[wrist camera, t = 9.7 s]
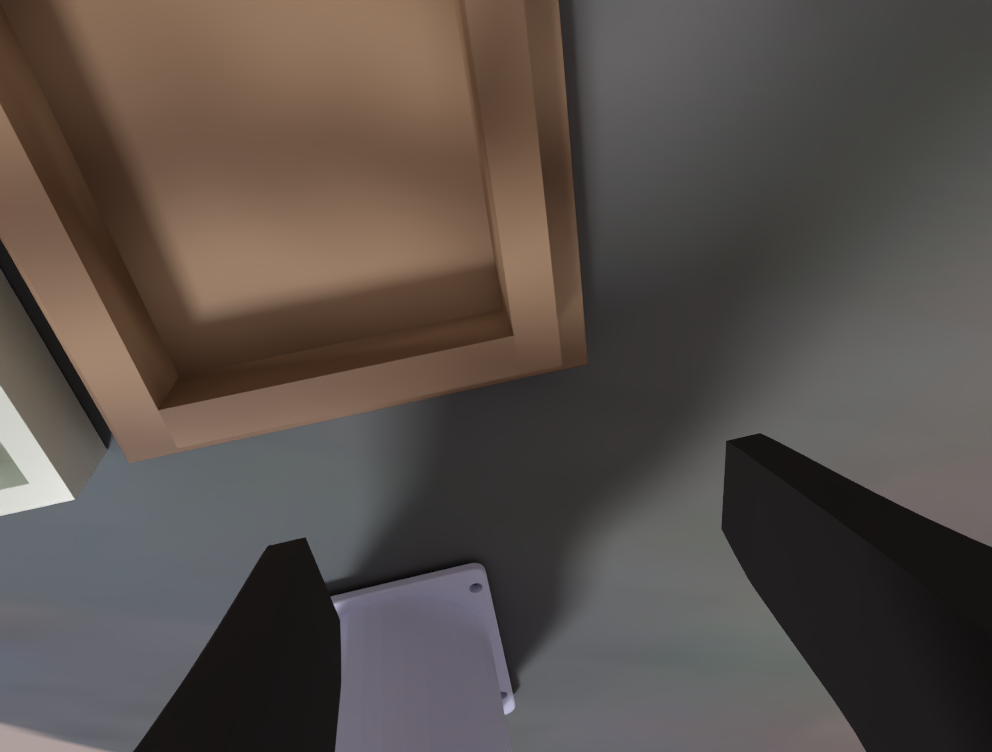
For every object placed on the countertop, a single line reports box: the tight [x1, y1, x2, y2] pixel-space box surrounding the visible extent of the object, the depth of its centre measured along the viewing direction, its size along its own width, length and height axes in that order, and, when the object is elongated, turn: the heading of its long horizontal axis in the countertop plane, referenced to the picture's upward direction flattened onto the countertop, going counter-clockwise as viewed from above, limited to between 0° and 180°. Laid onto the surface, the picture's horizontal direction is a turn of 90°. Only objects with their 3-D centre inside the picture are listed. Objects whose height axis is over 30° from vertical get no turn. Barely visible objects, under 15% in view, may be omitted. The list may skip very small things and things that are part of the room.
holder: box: [0, 0, 588, 463], centre depth 14 cm, size 14×14×3 cm
